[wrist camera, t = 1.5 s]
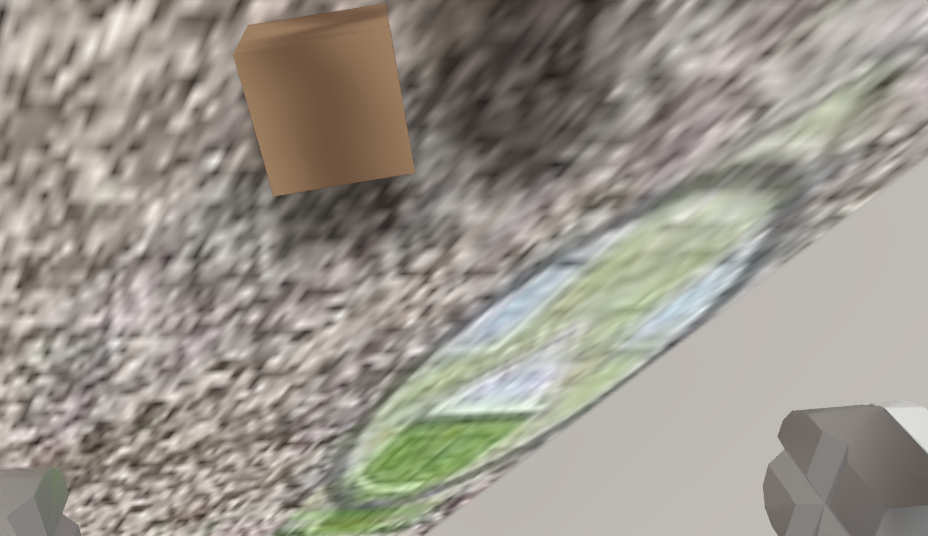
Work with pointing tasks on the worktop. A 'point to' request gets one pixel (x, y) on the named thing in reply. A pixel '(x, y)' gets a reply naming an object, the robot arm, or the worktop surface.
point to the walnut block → (325, 99)
